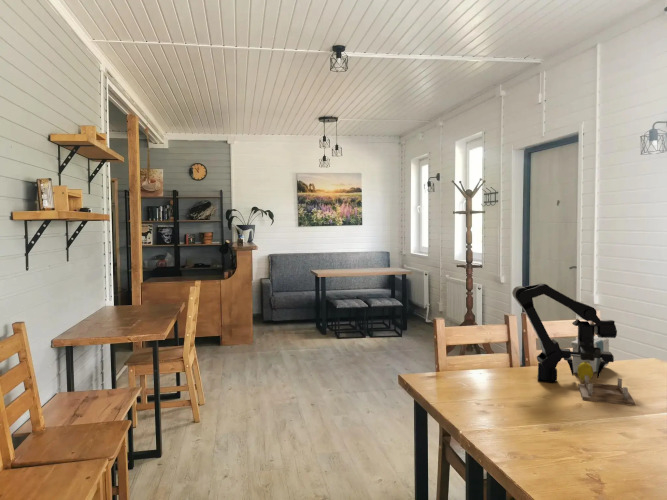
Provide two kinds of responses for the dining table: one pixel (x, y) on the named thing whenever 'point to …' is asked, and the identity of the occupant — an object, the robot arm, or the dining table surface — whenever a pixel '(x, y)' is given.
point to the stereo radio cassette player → (598, 343)
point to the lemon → (585, 370)
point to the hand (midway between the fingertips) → (585, 376)
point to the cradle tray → (605, 392)
